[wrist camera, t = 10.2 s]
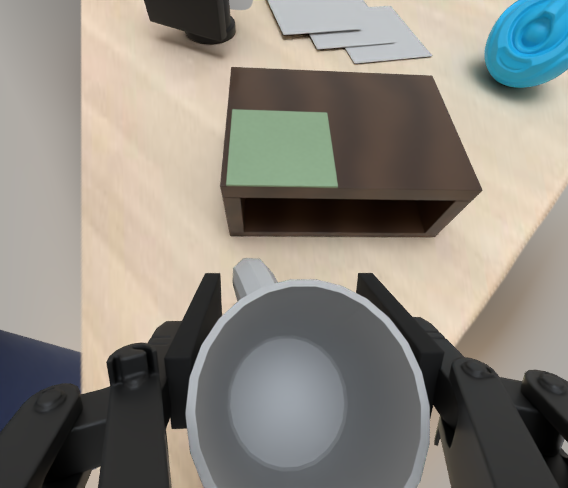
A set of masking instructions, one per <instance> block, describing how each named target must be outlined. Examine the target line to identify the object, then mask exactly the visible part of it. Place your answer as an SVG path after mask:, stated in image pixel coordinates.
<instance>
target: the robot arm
mask: <svg viewBox="0 0 568 488" xmlns="http://www.w3.org/2000/svg"><path fill="white" fill-rule="evenodd" d="M356 293H357V294H359V295H361V296H362V297H364V298H366V299H368V300H369V301H370V302H371V303H372V304H374V305H375V306H376V307H377V308H378V309H379V310H381V311H382V312H383V313H384V314H385V315H387V316H388V317H389V318H390V319H391V321H392V322H393V323H394V325H395V326H396V327H397V329H398V330H399V331H400V333H401V334H402V335H403V337H404V338H405V339H406V341H407V342H408V344H409V346H410V348H411V350H412V352H413V354H414V356H415V359H416V361H417V363H418V365H419V367H420V369H421V372H422V375H423V379H424V384H425V388H426V393H427V397H428V401H429V406H430V417H431V412H432V408H433V405H434V407H435V408H436V410H437V411H438V413H439V414H440V417H439V422H438V426H437V431H436V435H435V440H434V445H438V443H439V439H441V442H442V447H443V451H444V456H445V461H446V465H447V470H448V474H449V479H450V484H451V488H568V455H567V454H566V453H565V452H564V451H563V449H562V448H561V447H562V444H563V442H564V439H565V440H566V441H567V442H568V381H566V380H564V379H562V378H560V377H558V376H557V375H555V374H552V373H549V372H546V371H540V370H528V371H527V372H526V373H525V375H524V378H523V381H518V380H512V379H507V378H502V377H499V376H498V374H497V373H496V372H495V371H494V370H493V369H492V368H491V367H489V366H488V365H487V364H485V363H482V362H480V361H478V360H475V359H472V358H465V357H464V356H463V355H462V354H461V353H460V352H459V351H458V350H457V349H456V348H455V347H454V346H453V345H452V344H451V343H450V342H449V341H448V340H447V339H445V337H444V336H443V335H442V334H441V333H439V331H438V330H437V329H436V328H435V327H434V326H433V325H432V324H431V323H429V322H428V321H426V320H424V319H422V318H421V317H412V316H411V315H410V314H409V313H408V312H407V310H406V309H405V308H404V307H403V306H402V305H401V304H400V303H399V302H398V301H397V300H396V298H395V297H394V296H393V295H392V294H391V293H390V292H389V291H388V290H387V289H386V288H385V286H384V285H383V284H382V283H381V282H380V281H379V280H378V279H377V278H376V277H375V276H374V274H373V273H358V281H357V290H356ZM221 316H222V305H221V279H220V273H205V275H204V277H203V279H202V281H201V283H200V285H199V287H198V289H197V291H196V293H195V295H194V297H193V300H192V302H191V304H190V306H189V308H188V310H187V312H186V314H185V316H184V318H183V320H182V321H166V322H164V323H163V324H162V325H160V326H159V327H158V328H157V329H156V330H155V332H154V334H153V335H152V338H150V340H149V342H148V343H135V344H130V345H127V346H124V347H122V348H120V349H118V350H116V351H115V352H114V353H113V354H112V355H110V356H109V358H108V360H107V362H106V363H107V369H108V374H109V380H110V387H107V388H104V389H101V390H97V391H93V392H89V393H85V394H81V395H80V391H79V389H78V386H75V385H73V384H58V385H54V386H51V387H48V388H46V389H43V390H41V391H39V392H38V393H36V394H35V395H33V396H31V397H30V398H29V399H28V400H27V401H26V402H25V403H24V404H23V405H22V406H21V407H20V409H19V410H18V411H17V412H16V414H15V415H14V416H13V417H12V419H11V420H10V421H9V422H8V424H7V425H6V426H5V427H4V429H3V430H2V431H1V432H0V488H85V485H86V483H87V481H88V479H89V476H90V474H91V471H92V469H94V468H97V467H100V466H101V468H100V476H99V484H98V488H172V487H171V476H170V466H169V455H168V445H167V435H166V427H167V424H168V422H169V419H170V418H171V427H172V429H184V428H187V422H186V405H187V396H188V388H189V379H190V375H191V372H192V370H193V367H194V364H195V361H196V359H197V356H198V353H199V351H200V348H201V345H202V344H203V342H204V341H205V339H206V338H207V336H208V335H209V333H210V332H211V330H212V328H213V327H214V325H215V324H216V322H217V321H218V319H219V318H220V317H221Z"/></svg>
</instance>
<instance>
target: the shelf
mask: <svg viewBox="0 0 568 488" xmlns="http://www.w3.org/2000/svg"><path fill="white" fill-rule="evenodd" d="M220 187H221V192H222V197H223V202H224V207H225V212H226V217H227V222H228V227H229V232H230V236H346V237H435V236H436V235H437V234H438V233H439V232H440V231H441V230H442V229H443V228H444V227H445V226H446V225H447V224H448V223H449V222H450V221H452V220H453V219H454V218H455V217H456V216H457V215H458V214H459V213H460V212H461V211H462V210H463V209H464V208H465V207H466V206H467V205H468V204H469V203H470V202H471V201H472V200H473V199H474V198H475V197H476V196H477V195H478V194H479V193H480V192H481V191H482V188H481V186H480V183H479V181H478V179H477V177H476V174H475V172H474V170H473V167H472V165H471V163H470V161H469V158H468V156H467V154H466V151H465V149H464V147H463V145H462V142H461V140H460V138H459V136H458V133H457V131H456V129H455V126H454V124H453V122H452V120H451V117H450V115H449V113H448V110H447V108H446V106H445V104H444V101H443V99H442V97H441V95H440V92H439V90H438V88H437V85H436V83H435V81H434V79H433V76H427V75H404V74H381V73H358V72H335V71H312V70H289V69H265V68H242V67H231V77H230V87H229V98H228V109H227V119H226V130H225V140H224V151H223V162H222V172H221V183H220Z"/></svg>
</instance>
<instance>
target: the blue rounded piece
mask: <svg viewBox="0 0 568 488" xmlns="http://www.w3.org/2000/svg"><path fill="white" fill-rule="evenodd" d="M485 63H486V67H487V69H488V71H489V73H490V74H491V76H492V77H493V78H494V79H495V80H496V81H498V82H499V83H501V84H503V85H506V86H509V87H515V88H524V87H532V86H537V85H540V84H543V83H546V82H548V81H550V80H552V79H554V78H556V77H558V76H559V75H561V74H562V73H563V72H565V71H566V70H567V69H568V0H518V1H517V2H515V3H514V4H512V5H511V6H510V7H509V8H507V9H506V10H505V11H504V12H503V13H502V15H501V16H500V17H499V19H498V20H497V21H496V23H495V25H494V26H493V28H492V30H491V32H490V34H489V36H488V39H487V42H486V46H485Z"/></svg>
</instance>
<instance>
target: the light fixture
mask: <svg viewBox="0 0 568 488" xmlns="http://www.w3.org/2000/svg"><path fill="white" fill-rule="evenodd" d="M144 2H145V5H146V9H147V12H148V15H149V19H150V21H152V22H155V23H159V24H162V25H165V26H169V27H172V28H176V29H179V30H182V31H185V34H186V35H187V36H188V37H189V38H190V39H192V40H193V41H196V42H199V43H204V44H217V43H222V42H225V41H227V40H229V39H231V38H232V37H233V36H234V34H235V31H236V30H235V21H234V19H233V18H232V17H231V16H230V6H229V0H144Z"/></svg>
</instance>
